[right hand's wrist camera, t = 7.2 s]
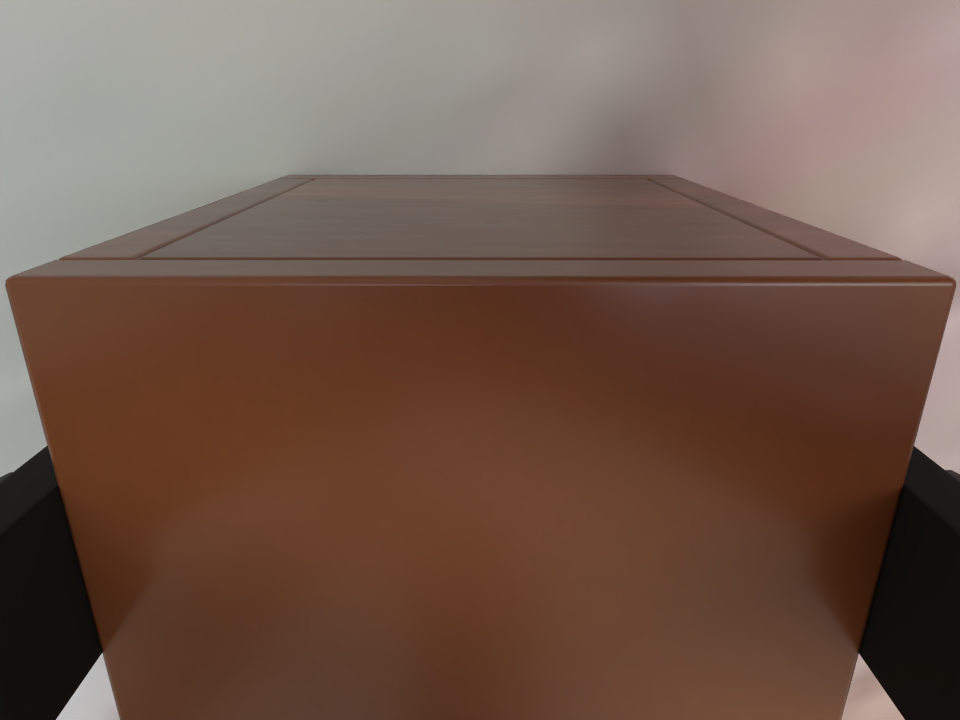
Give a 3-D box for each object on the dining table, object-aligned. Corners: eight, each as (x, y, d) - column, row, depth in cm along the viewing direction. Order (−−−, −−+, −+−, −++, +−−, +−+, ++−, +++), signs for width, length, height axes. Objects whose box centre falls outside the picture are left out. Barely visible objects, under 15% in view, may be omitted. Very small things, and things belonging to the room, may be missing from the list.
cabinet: (620, 715, 25) (723, 1169, 14) (340, 714, 25) (236, 1168, 14) (675, 174, 18) (963, 277, 7) (285, 174, 18) (-1, 278, 7)
